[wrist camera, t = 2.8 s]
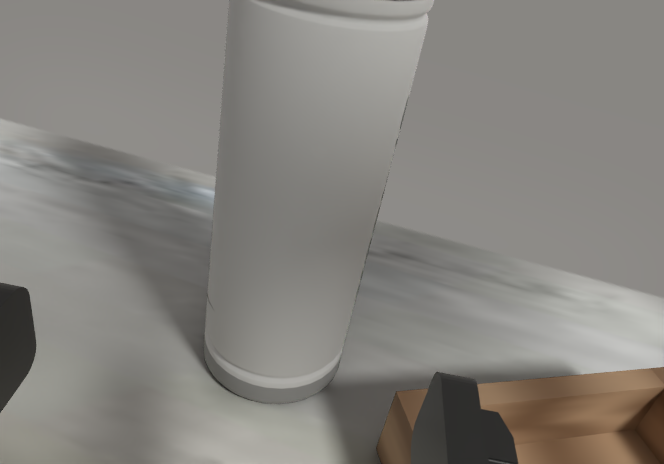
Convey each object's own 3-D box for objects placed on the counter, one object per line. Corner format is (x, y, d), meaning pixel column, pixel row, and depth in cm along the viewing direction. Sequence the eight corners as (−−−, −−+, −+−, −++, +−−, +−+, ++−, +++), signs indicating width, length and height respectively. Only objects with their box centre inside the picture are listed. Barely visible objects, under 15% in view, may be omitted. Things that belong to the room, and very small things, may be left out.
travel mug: (169, 341, 27) (184, -194, 16) (281, 290, 31) (356, -160, 20) (252, 437, 23) (347, -157, 12) (365, 365, 28) (512, -125, 17)
